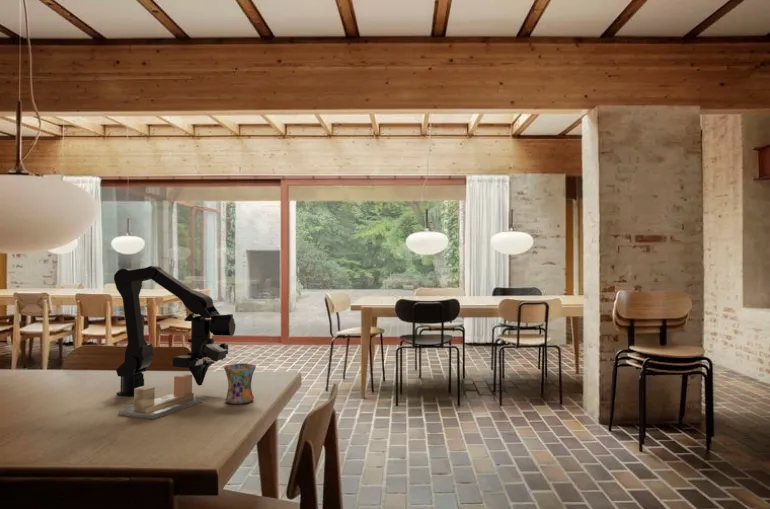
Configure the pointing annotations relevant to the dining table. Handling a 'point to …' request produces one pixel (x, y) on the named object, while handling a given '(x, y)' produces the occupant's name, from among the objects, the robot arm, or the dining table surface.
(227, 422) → the dining table surface
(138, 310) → the robot arm
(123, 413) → the flange plate
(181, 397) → the bar
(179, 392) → the slide leg
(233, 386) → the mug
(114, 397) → the dining table surface
